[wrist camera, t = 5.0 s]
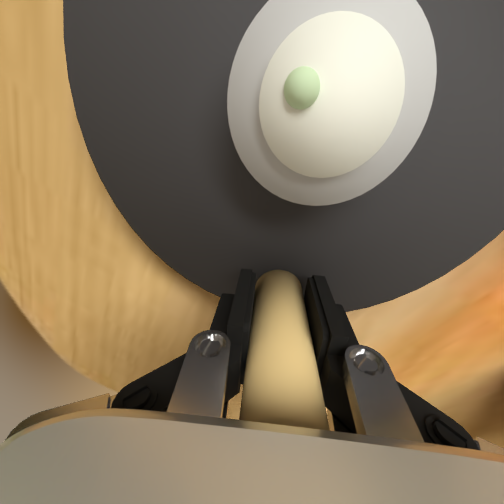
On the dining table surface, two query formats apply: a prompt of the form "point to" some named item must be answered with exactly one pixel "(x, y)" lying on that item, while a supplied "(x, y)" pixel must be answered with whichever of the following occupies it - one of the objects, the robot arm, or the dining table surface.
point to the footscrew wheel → (296, 152)
